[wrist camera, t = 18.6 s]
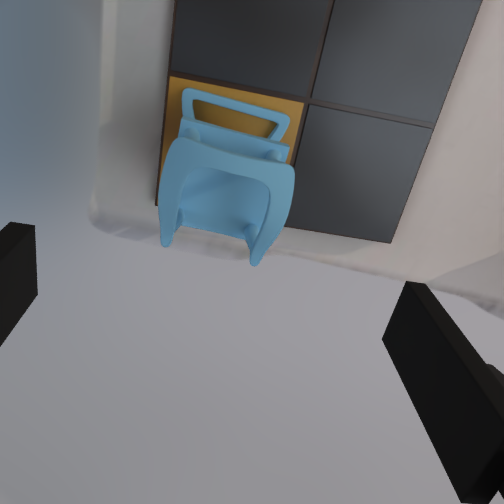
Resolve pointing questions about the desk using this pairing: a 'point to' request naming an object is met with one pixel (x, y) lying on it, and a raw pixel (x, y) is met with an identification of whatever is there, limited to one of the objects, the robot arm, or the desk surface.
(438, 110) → the board
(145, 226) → the desk surface
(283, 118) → the chair
